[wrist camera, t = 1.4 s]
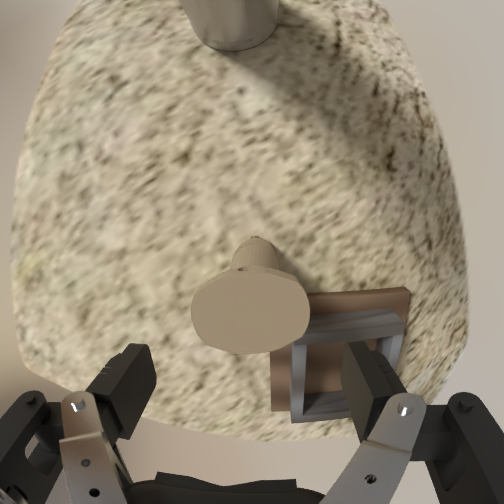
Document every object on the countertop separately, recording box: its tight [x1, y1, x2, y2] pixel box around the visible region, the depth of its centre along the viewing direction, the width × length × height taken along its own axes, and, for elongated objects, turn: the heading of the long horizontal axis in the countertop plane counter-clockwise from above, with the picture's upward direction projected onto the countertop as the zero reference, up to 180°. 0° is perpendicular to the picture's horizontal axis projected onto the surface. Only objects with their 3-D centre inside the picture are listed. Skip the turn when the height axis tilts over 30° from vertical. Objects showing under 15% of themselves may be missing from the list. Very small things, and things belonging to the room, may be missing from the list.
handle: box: [191, 236, 310, 354], centre depth 23 cm, size 5×6×15 cm
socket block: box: [270, 287, 410, 423], centre depth 30 cm, size 16×16×6 cm
